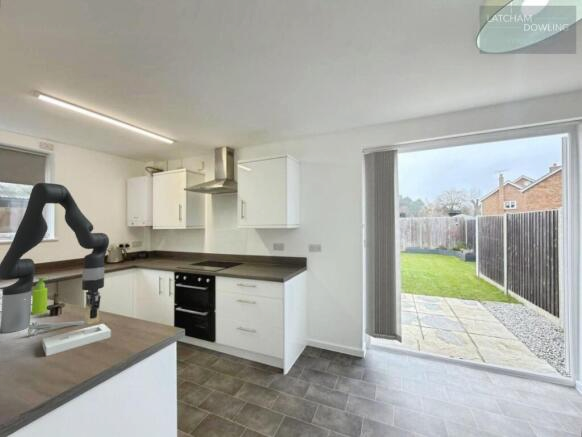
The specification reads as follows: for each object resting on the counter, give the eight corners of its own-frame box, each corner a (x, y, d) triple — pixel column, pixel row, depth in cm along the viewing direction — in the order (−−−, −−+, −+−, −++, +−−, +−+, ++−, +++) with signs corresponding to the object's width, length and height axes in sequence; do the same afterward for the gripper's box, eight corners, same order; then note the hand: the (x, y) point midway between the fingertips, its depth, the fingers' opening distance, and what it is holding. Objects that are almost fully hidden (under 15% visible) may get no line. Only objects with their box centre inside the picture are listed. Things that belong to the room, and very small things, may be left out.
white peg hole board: (42, 346, 97) (42, 338, 97) (103, 329, 112) (103, 323, 112) (46, 356, 89) (46, 347, 89) (110, 337, 105) (111, 330, 105)
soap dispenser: (40, 314, 132) (42, 278, 133) (28, 314, 132) (30, 278, 133) (51, 310, 138) (52, 276, 139) (39, 310, 138) (41, 276, 139)
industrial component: (64, 314, 132) (65, 293, 132) (46, 318, 127) (47, 295, 127) (64, 310, 139) (65, 290, 139) (46, 313, 133) (47, 292, 134)
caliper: (27, 338, 104) (28, 323, 105) (27, 337, 105) (28, 323, 105) (87, 323, 121) (87, 310, 121) (86, 322, 121) (87, 310, 122)
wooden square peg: (85, 322, 104) (85, 303, 105) (96, 319, 107) (97, 301, 108) (87, 324, 102) (87, 305, 102) (99, 321, 105) (99, 303, 105)
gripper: (78, 277, 107) (77, 315, 106) (86, 281, 98) (84, 323, 97) (99, 274, 113) (98, 311, 112) (108, 278, 104) (107, 318, 103)
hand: (92, 316), depth 105 cm, fingers closed on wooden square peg, 4 cm apart
